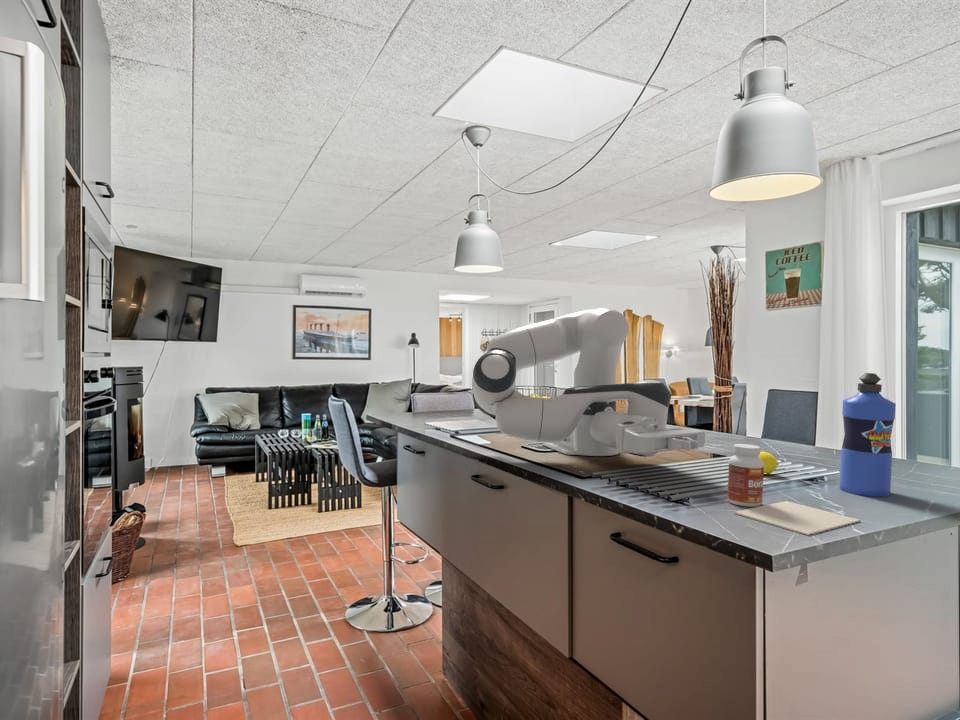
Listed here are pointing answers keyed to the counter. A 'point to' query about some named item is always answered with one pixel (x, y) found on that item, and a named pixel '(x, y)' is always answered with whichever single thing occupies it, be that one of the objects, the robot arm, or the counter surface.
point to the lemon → (768, 462)
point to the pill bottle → (745, 476)
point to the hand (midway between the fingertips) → (694, 446)
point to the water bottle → (867, 440)
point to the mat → (797, 517)
